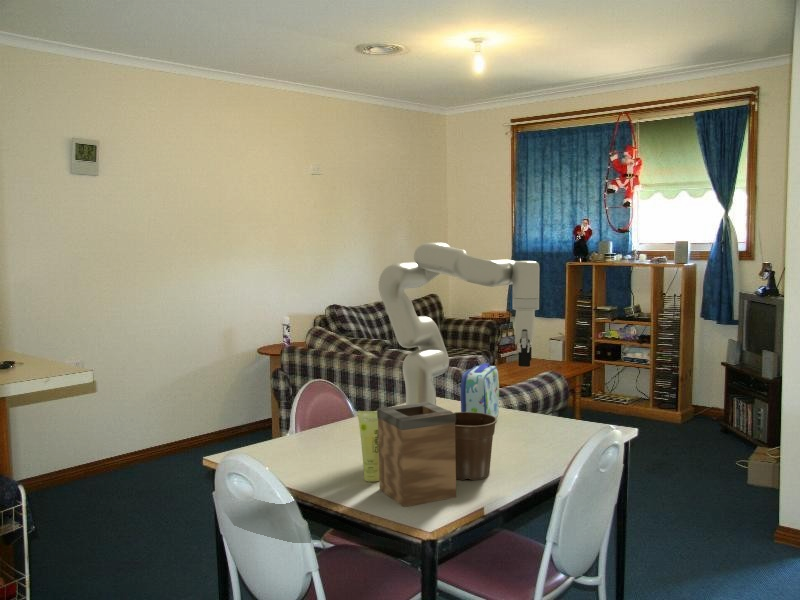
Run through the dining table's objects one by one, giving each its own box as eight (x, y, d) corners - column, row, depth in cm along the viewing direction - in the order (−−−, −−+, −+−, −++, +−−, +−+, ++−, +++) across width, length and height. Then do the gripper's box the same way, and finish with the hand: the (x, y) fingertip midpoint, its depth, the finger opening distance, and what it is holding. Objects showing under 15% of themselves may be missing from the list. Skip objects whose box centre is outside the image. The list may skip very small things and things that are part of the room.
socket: (378, 489, 199) (377, 408, 197) (429, 480, 205) (427, 402, 203) (403, 507, 185) (402, 420, 183) (456, 497, 191) (455, 413, 190)
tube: (367, 484, 203) (365, 414, 201) (358, 479, 207) (357, 410, 206) (385, 480, 206) (383, 411, 204) (376, 475, 210) (374, 407, 209)
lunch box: (473, 414, 280) (472, 359, 279) (501, 416, 277) (501, 360, 275) (457, 432, 256) (456, 372, 254) (488, 434, 252) (487, 373, 251)
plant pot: (508, 472, 210) (508, 416, 209) (475, 487, 198) (474, 428, 197) (463, 462, 221) (462, 409, 220) (428, 475, 209) (427, 419, 208)
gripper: (514, 301, 220) (513, 357, 222) (510, 307, 204) (509, 368, 205) (539, 301, 219) (539, 358, 220) (538, 307, 202) (537, 369, 204)
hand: (525, 363), depth 213 cm, fingers open, 9 cm apart
